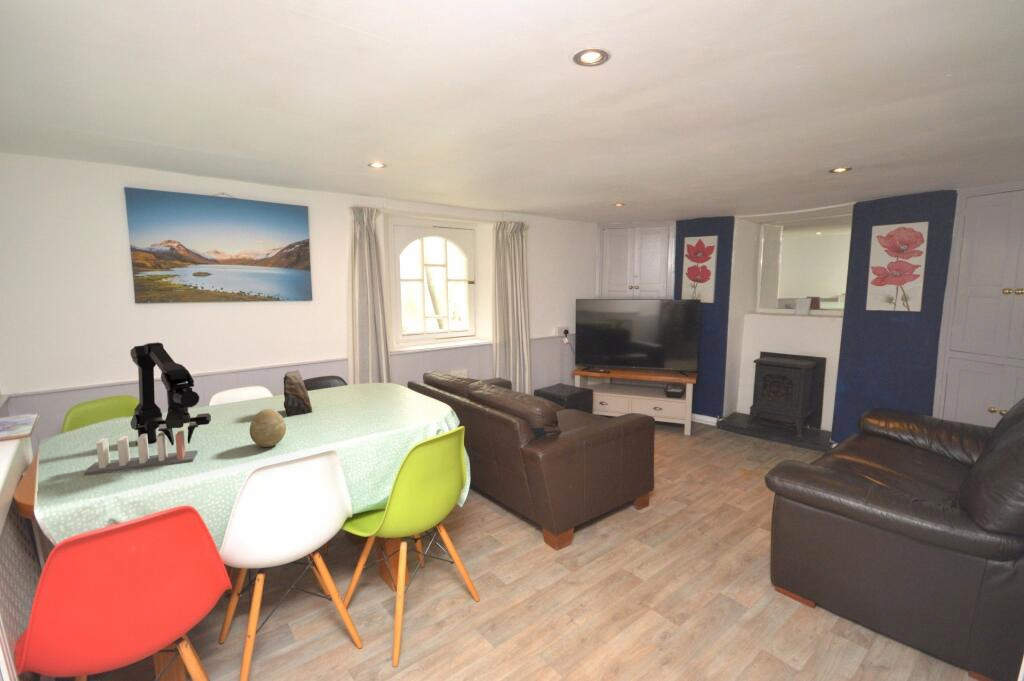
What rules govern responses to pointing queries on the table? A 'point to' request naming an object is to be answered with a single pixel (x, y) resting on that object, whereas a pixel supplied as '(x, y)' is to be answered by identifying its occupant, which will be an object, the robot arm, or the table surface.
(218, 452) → the table surface
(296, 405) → the tapered brown rock
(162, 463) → the board
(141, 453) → the domino
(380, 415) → the table surface
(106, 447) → the domino
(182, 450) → the brick domino
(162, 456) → the domino
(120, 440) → the domino
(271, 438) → the fossilized egg
